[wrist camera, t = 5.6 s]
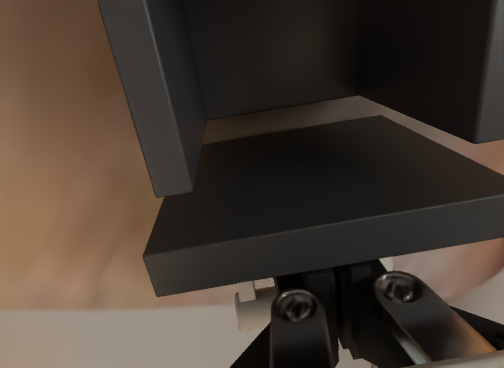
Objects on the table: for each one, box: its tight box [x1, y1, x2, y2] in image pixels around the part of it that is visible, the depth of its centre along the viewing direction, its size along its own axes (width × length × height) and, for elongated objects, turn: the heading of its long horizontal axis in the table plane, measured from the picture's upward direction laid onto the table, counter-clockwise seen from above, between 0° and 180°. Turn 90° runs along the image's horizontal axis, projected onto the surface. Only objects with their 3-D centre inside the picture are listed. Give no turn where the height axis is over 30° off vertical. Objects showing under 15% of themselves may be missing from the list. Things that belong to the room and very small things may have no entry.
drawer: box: [97, 0, 504, 332], centre depth 10 cm, size 17×9×8 cm, turn 8°
